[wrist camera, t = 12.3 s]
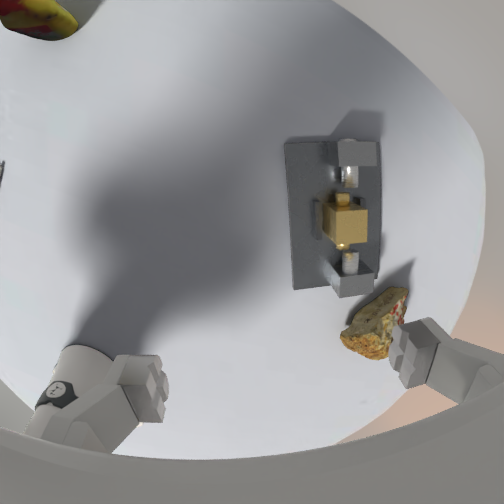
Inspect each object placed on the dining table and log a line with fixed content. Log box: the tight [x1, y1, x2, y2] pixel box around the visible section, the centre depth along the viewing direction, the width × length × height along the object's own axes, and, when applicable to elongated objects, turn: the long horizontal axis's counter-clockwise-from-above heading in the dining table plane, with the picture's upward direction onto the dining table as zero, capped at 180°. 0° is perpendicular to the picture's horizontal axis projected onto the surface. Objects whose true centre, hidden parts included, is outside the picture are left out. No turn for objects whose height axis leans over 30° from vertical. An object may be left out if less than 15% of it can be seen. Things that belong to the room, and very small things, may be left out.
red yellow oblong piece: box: [0, 0, 78, 41], centre depth 18 cm, size 12×6×20 cm, turn 57°
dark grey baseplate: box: [284, 139, 381, 298], centre depth 38 cm, size 21×13×5 cm, turn 5°
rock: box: [340, 287, 408, 360], centre depth 44 cm, size 12×9×10 cm
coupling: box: [323, 192, 368, 250], centre depth 37 cm, size 7×4×6 cm, turn 5°
